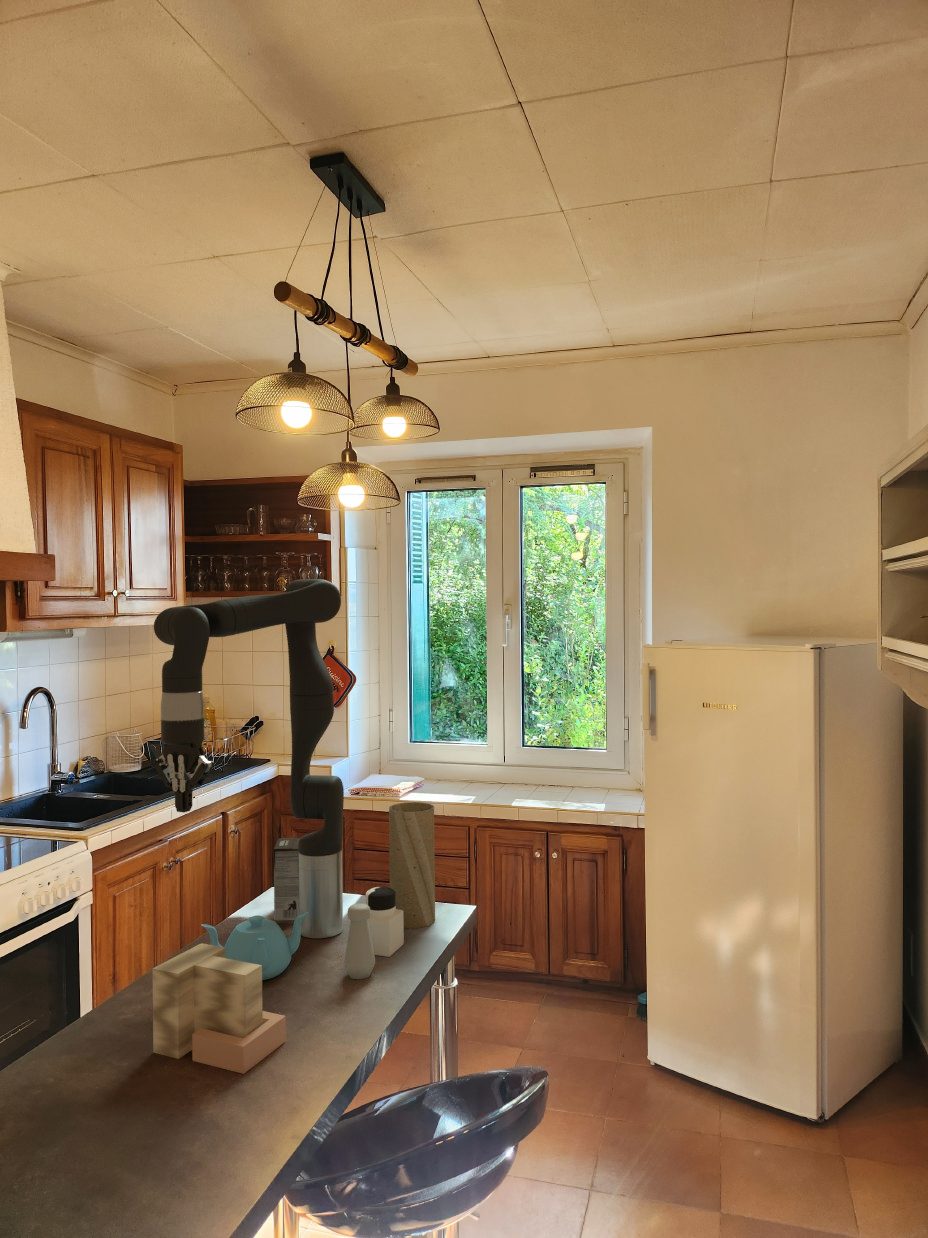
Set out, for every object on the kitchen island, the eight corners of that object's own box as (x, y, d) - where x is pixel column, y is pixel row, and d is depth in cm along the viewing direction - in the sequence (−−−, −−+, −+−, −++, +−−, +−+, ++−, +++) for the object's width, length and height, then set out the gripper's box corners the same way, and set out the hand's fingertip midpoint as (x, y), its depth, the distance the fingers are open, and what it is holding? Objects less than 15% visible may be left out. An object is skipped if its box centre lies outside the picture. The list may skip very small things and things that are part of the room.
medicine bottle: (404, 944, 173) (403, 886, 173) (390, 957, 166) (389, 896, 166) (372, 940, 175) (372, 882, 175) (357, 953, 169) (356, 893, 169)
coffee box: (278, 907, 196) (278, 837, 196) (306, 906, 197) (306, 837, 197) (273, 921, 187) (272, 848, 187) (302, 920, 188) (301, 847, 188)
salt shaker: (378, 969, 161) (377, 901, 161) (372, 982, 155) (371, 911, 155) (348, 968, 161) (347, 900, 161) (340, 981, 156) (340, 910, 156)
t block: (153, 1052, 131) (152, 968, 131) (202, 1021, 141) (201, 943, 141) (231, 1073, 125) (230, 984, 125) (276, 1038, 135) (275, 957, 135)
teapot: (254, 950, 171) (253, 900, 171) (314, 964, 164) (313, 911, 164) (200, 978, 158) (199, 923, 158) (262, 994, 151) (261, 936, 151)
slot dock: (192, 1061, 128) (192, 1034, 128) (236, 1030, 138) (236, 1005, 138) (243, 1074, 124) (243, 1046, 124) (285, 1041, 134) (285, 1016, 134)
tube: (384, 916, 189) (382, 805, 189) (425, 909, 193) (424, 800, 193) (399, 931, 180) (398, 814, 180) (442, 924, 184) (441, 809, 184)
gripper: (225, 715, 155) (226, 810, 155) (169, 713, 160) (170, 804, 160) (197, 720, 148) (198, 819, 148) (139, 717, 153) (140, 812, 153)
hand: (183, 811), depth 154 cm, fingers closed
